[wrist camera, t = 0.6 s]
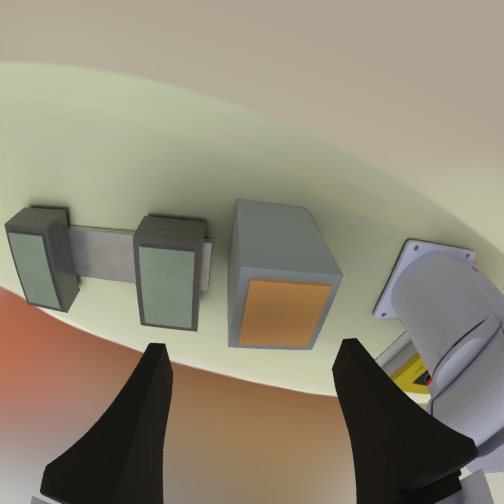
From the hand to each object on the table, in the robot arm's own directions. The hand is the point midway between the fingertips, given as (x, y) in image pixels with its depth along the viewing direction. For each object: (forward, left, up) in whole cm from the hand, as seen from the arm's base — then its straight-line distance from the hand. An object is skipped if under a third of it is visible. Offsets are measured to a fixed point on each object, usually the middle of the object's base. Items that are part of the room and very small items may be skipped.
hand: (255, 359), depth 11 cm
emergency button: (-24, +13, -11) cm, 30 cm away
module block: (-1, 0, -10) cm, 10 cm away
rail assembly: (+10, +2, -10) cm, 14 cm away
